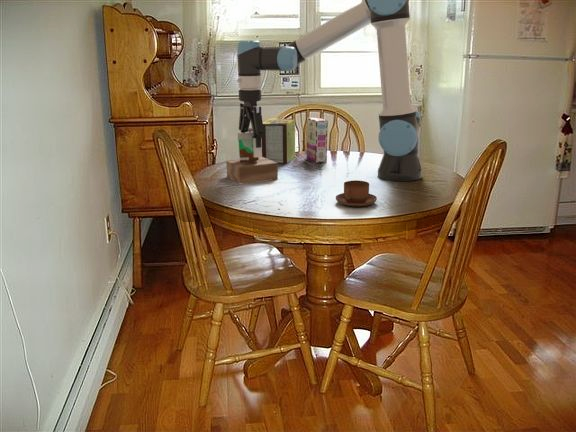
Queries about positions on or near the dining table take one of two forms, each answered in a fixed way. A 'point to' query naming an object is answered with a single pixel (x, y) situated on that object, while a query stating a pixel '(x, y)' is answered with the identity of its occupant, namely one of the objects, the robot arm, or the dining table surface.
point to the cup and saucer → (356, 194)
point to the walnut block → (252, 170)
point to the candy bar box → (317, 140)
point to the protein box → (279, 140)
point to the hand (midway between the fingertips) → (251, 154)
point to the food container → (246, 146)
